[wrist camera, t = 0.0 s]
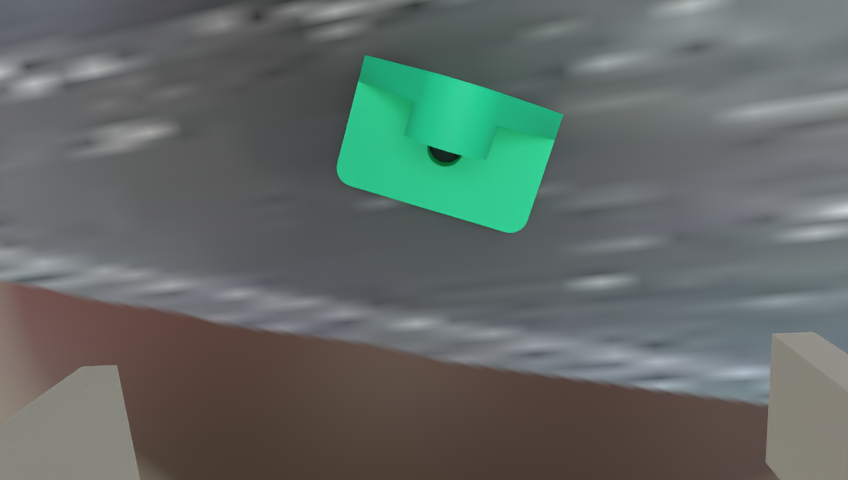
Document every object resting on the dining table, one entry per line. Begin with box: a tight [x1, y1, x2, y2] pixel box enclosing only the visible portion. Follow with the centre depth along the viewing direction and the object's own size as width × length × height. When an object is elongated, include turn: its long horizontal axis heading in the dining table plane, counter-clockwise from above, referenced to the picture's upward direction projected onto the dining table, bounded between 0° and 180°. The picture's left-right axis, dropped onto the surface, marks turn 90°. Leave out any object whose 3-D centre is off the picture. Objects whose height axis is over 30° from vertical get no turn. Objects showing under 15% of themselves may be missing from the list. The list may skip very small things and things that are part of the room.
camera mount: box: [337, 55, 563, 233], centre depth 34 cm, size 12×8×10 cm, turn 73°
